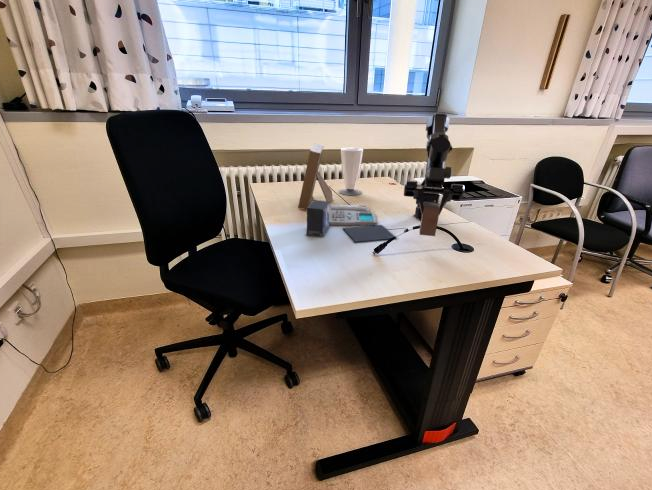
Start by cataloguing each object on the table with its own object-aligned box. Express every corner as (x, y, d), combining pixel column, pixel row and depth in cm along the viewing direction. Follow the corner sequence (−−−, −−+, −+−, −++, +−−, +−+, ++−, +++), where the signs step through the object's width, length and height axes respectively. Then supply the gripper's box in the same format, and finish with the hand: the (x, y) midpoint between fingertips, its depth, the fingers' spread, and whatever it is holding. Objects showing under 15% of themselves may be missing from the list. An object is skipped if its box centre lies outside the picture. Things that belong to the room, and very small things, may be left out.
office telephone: (329, 202, 153) (373, 203, 153) (329, 208, 154) (372, 209, 154) (327, 218, 133) (377, 220, 133) (326, 225, 134) (377, 226, 134)
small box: (323, 237, 123) (323, 209, 118) (306, 235, 124) (305, 207, 119) (329, 227, 132) (330, 200, 127) (313, 226, 133) (313, 199, 128)
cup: (338, 189, 183) (339, 147, 172) (359, 189, 184) (361, 147, 174) (340, 195, 173) (342, 150, 163) (362, 195, 174) (365, 150, 164)
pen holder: (419, 229, 116) (423, 202, 112) (434, 231, 116) (439, 203, 111) (419, 234, 112) (424, 206, 107) (435, 236, 111) (440, 207, 107)
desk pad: (381, 225, 135) (381, 224, 135) (396, 238, 123) (396, 237, 123) (343, 229, 131) (343, 228, 131) (354, 242, 119) (354, 241, 119)
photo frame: (298, 209, 151) (296, 150, 138) (303, 196, 169) (302, 143, 157) (331, 210, 150) (332, 151, 138) (333, 197, 169) (334, 144, 157)
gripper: (408, 154, 107) (402, 198, 103) (470, 158, 104) (466, 203, 100) (406, 175, 118) (400, 215, 114) (462, 178, 114) (458, 220, 111)
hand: (430, 213), depth 109 cm, fingers closed on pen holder, 5 cm apart
